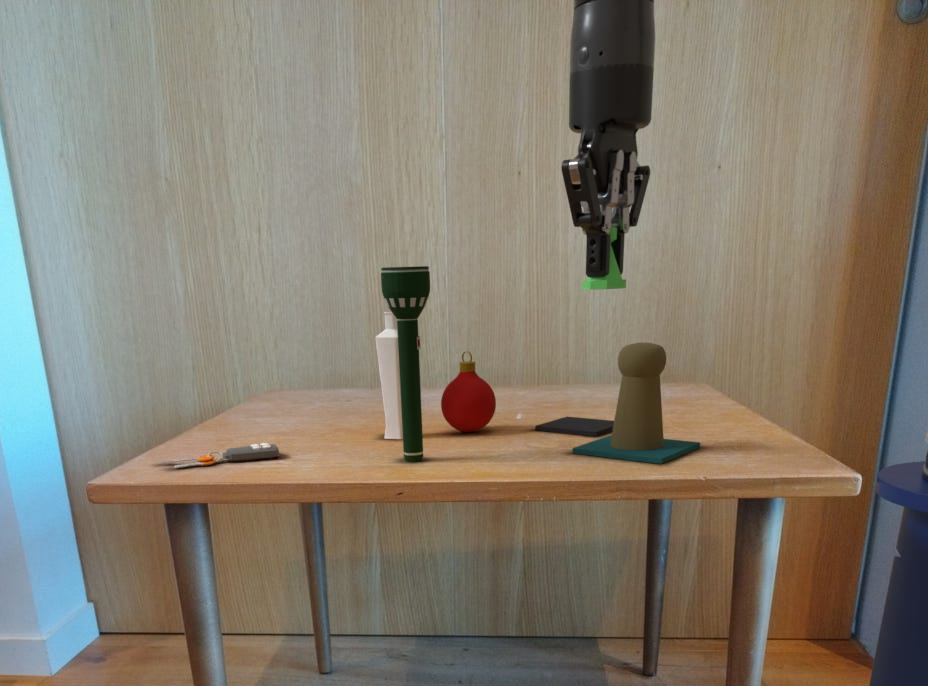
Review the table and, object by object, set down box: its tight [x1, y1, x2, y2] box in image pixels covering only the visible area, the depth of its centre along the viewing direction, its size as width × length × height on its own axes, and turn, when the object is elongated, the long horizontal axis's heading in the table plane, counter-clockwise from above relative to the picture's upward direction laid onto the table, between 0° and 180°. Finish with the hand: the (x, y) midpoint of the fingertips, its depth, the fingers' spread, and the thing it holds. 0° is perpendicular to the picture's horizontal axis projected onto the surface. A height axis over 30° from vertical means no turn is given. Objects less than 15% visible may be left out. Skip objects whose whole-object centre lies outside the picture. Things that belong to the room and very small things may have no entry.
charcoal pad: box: [534, 416, 614, 437], centre depth 110 cm, size 9×8×1 cm
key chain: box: [162, 442, 280, 469], centre depth 98 cm, size 13×4×2 cm, turn 111°
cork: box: [610, 342, 667, 450], centre depth 94 cm, size 6×6×11 cm
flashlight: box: [380, 265, 431, 463], centre depth 92 cm, size 5×5×20 cm
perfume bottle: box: [374, 311, 403, 440], centre depth 106 cm, size 5×4×15 cm
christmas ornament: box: [440, 350, 497, 433], centre depth 109 cm, size 7×7×10 cm
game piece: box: [581, 225, 627, 291], centre depth 83 cm, size 4×4×6 cm
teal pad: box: [571, 434, 701, 465], centre depth 97 cm, size 11×10×1 cm
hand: (604, 275), depth 84 cm, fingers closed on game piece, 2 cm apart
